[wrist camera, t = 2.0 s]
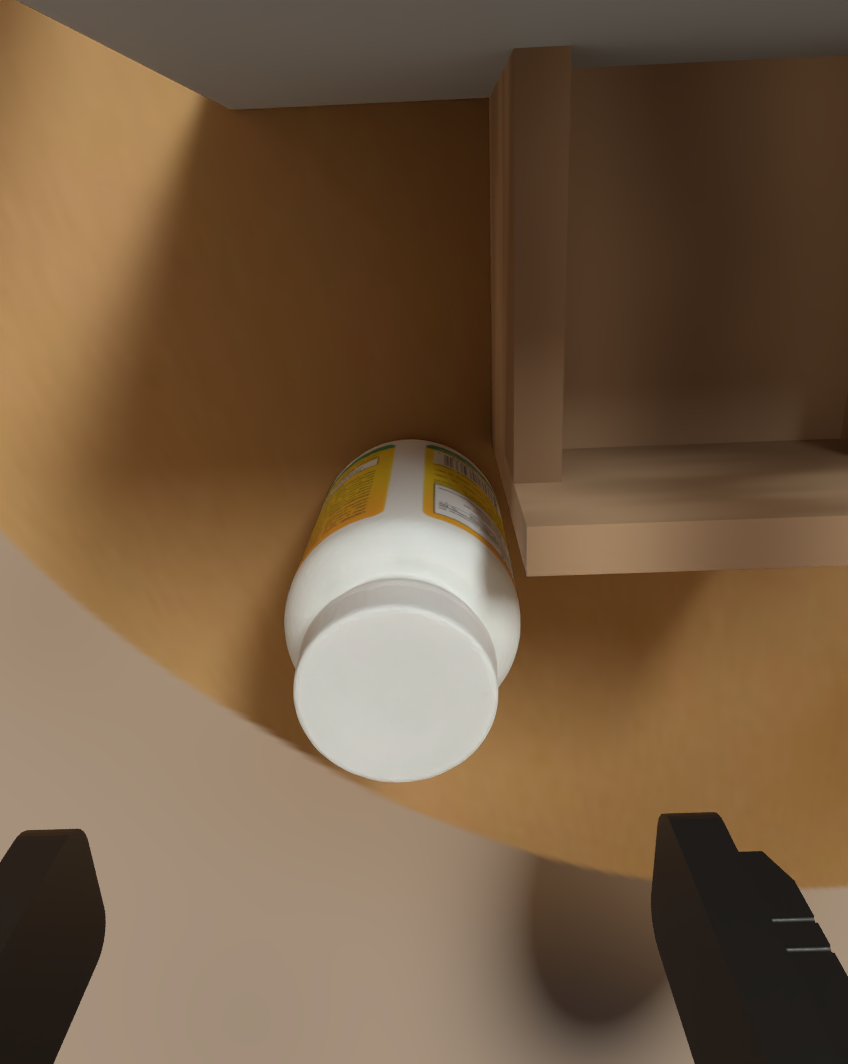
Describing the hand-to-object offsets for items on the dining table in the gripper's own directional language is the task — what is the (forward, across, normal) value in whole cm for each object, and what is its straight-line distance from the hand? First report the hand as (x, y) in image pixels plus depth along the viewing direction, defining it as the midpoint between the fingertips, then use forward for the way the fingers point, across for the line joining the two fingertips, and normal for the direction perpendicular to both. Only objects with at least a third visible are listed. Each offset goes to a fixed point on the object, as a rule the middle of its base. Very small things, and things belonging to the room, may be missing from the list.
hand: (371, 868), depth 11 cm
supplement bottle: (+14, 0, 0) cm, 14 cm away
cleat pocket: (+14, -7, -7) cm, 17 cm away
